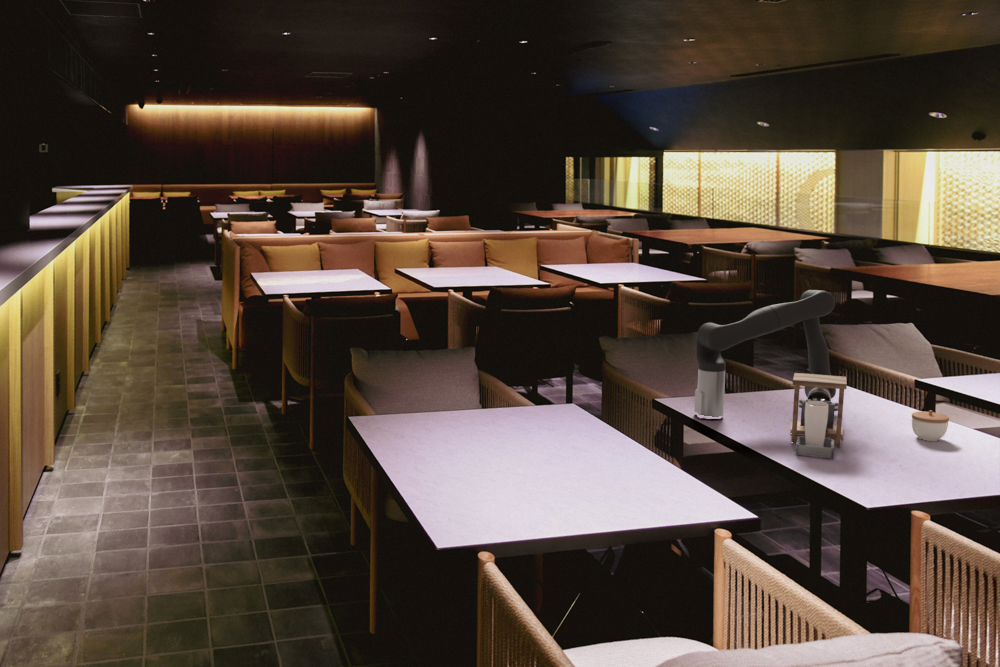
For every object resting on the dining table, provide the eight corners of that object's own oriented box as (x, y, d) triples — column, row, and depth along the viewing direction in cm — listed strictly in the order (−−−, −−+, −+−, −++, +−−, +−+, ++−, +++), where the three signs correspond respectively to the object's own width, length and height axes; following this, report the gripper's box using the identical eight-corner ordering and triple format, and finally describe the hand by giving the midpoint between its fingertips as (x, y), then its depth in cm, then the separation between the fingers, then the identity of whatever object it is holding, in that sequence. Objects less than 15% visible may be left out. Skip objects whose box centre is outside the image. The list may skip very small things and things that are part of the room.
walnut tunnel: (842, 449, 266) (846, 384, 263) (788, 443, 272) (792, 379, 268) (841, 439, 277) (846, 376, 273) (790, 434, 282) (794, 372, 279)
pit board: (842, 439, 277) (842, 434, 277) (790, 433, 283) (790, 429, 282) (842, 429, 288) (842, 425, 288) (791, 424, 294) (792, 420, 293)
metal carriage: (833, 458, 256) (835, 423, 254) (795, 454, 259) (797, 420, 258) (833, 435, 279) (835, 404, 277) (799, 432, 283) (801, 401, 281)
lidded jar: (912, 441, 274) (915, 413, 273) (907, 432, 285) (910, 405, 283) (949, 444, 271) (952, 416, 270) (943, 435, 282) (946, 407, 280)
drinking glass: (824, 447, 266) (827, 401, 263) (826, 455, 260) (830, 407, 257) (801, 446, 268) (804, 400, 265) (803, 453, 262) (806, 406, 259)
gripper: (799, 387, 298) (797, 398, 282) (840, 390, 293) (840, 402, 277) (798, 408, 299) (795, 420, 283) (838, 411, 294) (838, 424, 278)
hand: (817, 411), depth 280 cm, fingers closed
